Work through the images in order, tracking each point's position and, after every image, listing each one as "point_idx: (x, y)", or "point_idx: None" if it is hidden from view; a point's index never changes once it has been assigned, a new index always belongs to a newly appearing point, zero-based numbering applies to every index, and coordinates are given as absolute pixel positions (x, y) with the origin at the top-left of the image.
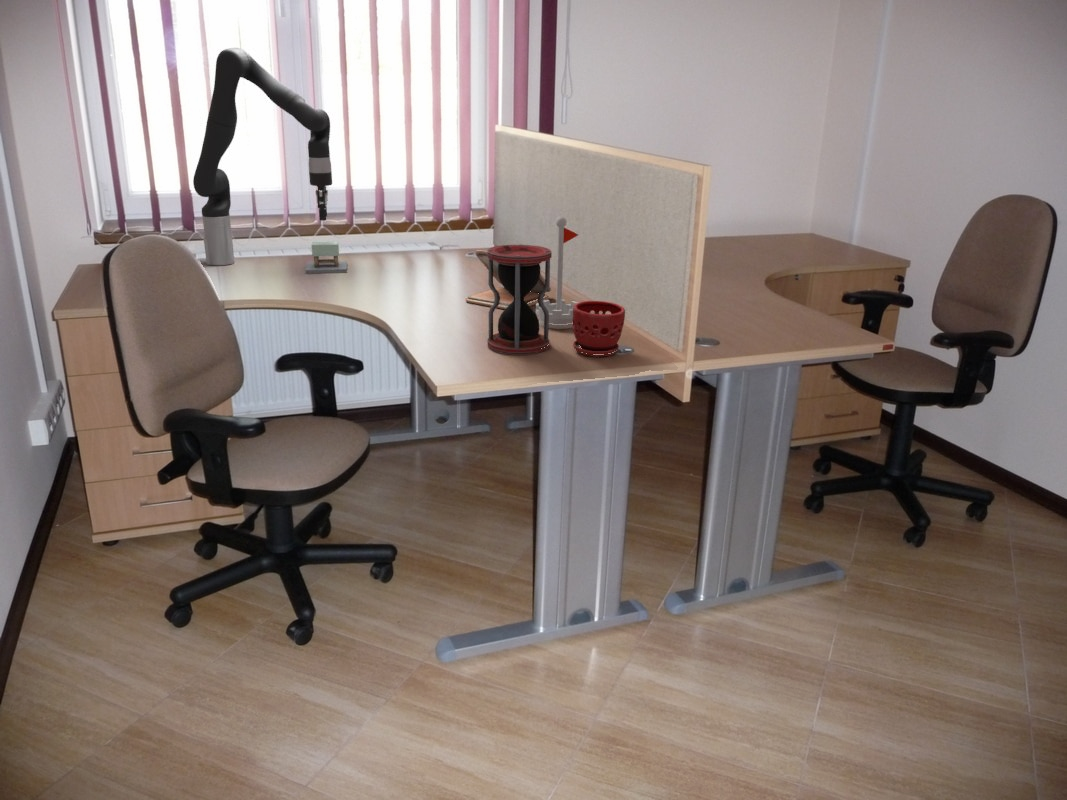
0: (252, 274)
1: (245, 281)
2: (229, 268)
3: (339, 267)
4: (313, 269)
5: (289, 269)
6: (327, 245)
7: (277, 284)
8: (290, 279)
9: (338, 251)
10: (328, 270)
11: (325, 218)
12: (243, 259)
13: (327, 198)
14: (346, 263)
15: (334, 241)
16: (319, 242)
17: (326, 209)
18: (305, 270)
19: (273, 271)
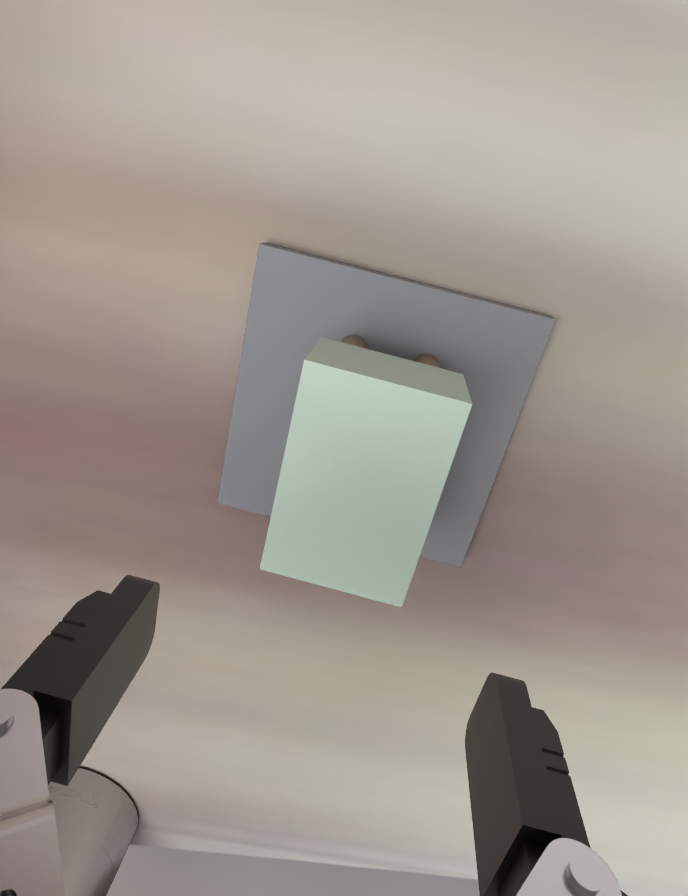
0: (369, 760)
1: None
2: (202, 802)
3: (470, 354)
4: (462, 523)
5: (309, 603)
6: (442, 489)
7: (660, 725)
8: (573, 652)
9: (424, 371)
10: (508, 439)
11: (526, 702)
12: None
13: (33, 876)
14: (346, 270)
15: (298, 395)
16: (306, 526)
17: (107, 655)
18: (460, 566)
19: (333, 676)
